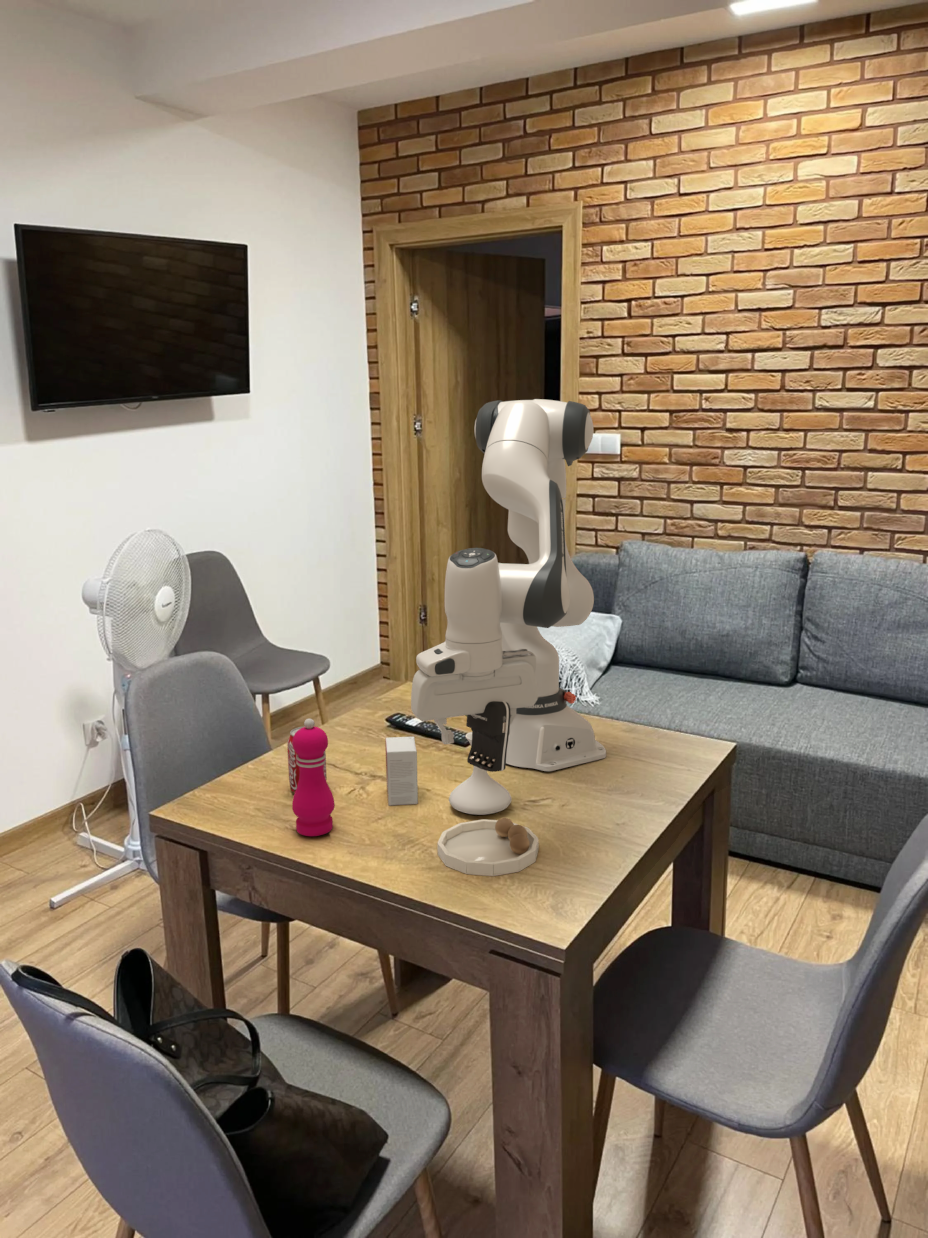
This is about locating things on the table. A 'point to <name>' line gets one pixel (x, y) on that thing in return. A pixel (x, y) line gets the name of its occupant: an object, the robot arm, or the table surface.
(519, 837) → the bead
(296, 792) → the pepper mill
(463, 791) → the flower in vase
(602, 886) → the table surface
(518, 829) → the bead
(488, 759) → the battery charger
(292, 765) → the soda can
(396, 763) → the small box
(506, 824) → the bead
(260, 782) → the table surface
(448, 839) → the tray
